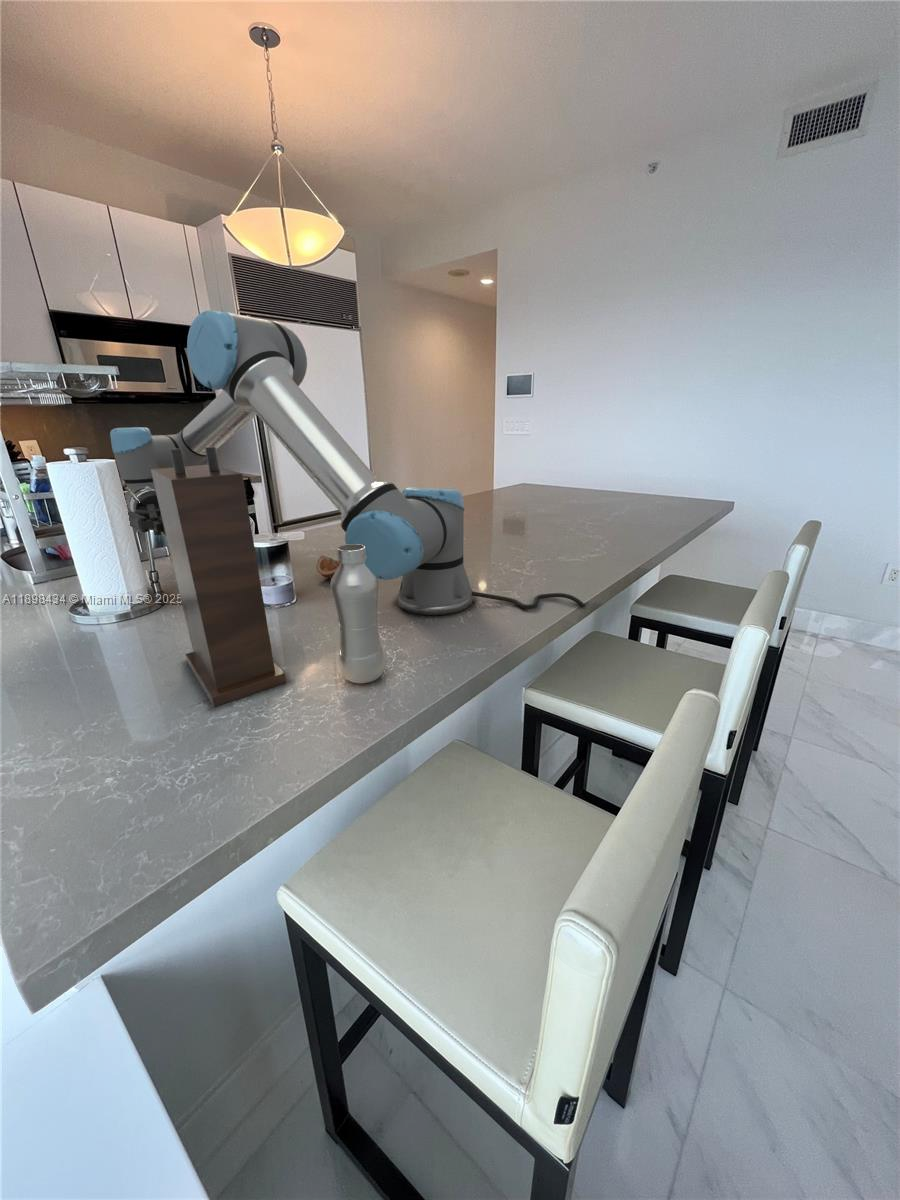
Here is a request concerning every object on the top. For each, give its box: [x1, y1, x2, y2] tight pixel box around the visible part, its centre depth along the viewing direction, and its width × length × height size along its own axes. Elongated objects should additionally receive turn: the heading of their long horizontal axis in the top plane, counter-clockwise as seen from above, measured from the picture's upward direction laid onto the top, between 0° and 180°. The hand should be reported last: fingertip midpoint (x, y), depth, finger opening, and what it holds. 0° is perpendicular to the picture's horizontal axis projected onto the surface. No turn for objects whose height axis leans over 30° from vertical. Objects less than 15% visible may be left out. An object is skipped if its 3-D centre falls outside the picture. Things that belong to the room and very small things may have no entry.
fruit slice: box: [315, 555, 340, 580], centre depth 114 cm, size 8×7×5 cm
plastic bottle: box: [329, 544, 386, 684], centre depth 69 cm, size 6×7×20 cm
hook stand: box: [151, 447, 287, 708], centre depth 69 cm, size 16×10×33 cm, turn 38°
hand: (177, 529), depth 85 cm, fingers closed on hanger bar, 2 cm apart
